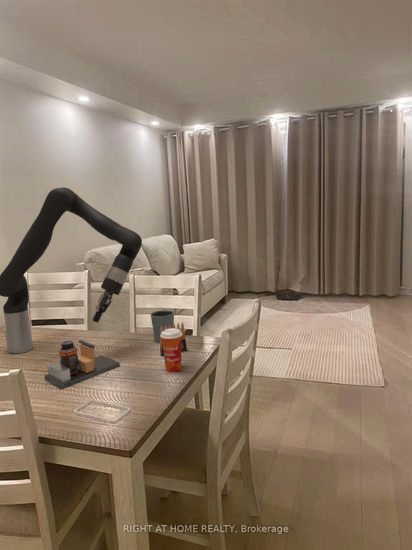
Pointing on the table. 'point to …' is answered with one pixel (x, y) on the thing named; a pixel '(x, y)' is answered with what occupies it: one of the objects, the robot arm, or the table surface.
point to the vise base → (62, 376)
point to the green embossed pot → (161, 322)
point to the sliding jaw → (86, 357)
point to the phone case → (102, 417)
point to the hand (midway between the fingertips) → (94, 321)
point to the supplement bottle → (69, 356)
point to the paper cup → (172, 349)
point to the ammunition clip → (183, 340)
